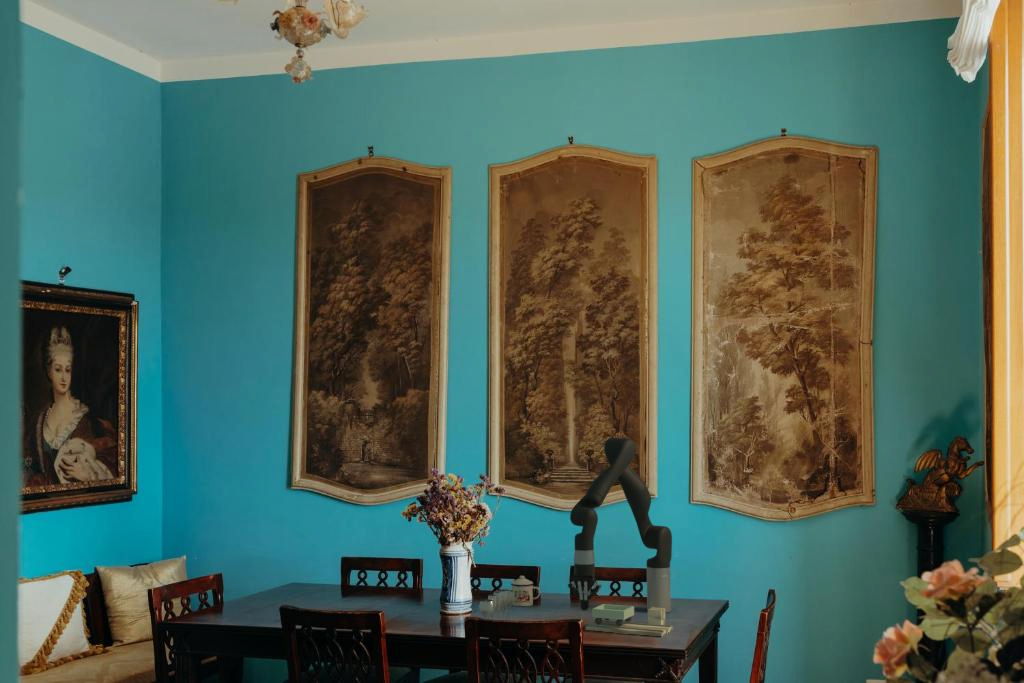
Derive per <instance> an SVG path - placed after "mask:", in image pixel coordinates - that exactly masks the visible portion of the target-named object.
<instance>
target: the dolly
mask: <svg viewBox="0 0 1024 683" xmlns="http://www.w3.org/2000/svg"><path fill="white" fill-rule="evenodd" d="M591 612H592V613H591V614H592V616H591V618H594V619H595V620H594V622H595V623H596V624H601V623H602V620H607V621H610V620H611V619H612V620H615V621H616V624H617V626H622V625H623V622H631V621H632V619H633V618H632V617H633V616H635V606H633V605H621V604H620V605H619V604H607V603H602V604H600V605H597V606H595V607H593V608H592V609H591Z"/></svg>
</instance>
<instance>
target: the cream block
mask: <svg viewBox="0 0 1024 683" xmlns="http://www.w3.org/2000/svg"><path fill="white" fill-rule="evenodd" d="M647 624H657V625H666V613H665V608H653V607H652V608H650V609H648V611H647Z"/></svg>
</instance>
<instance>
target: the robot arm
mask: <svg viewBox="0 0 1024 683" xmlns="http://www.w3.org/2000/svg"><path fill="white" fill-rule="evenodd" d="M603 449H604V450H603V451H604V455H605V457H606V460H607V461H608V463H609V465H610V466H608V467H607V468H606V469H605V470H604V471H602V472H601V473H599V475H598V476H596V478H595V479H594V480H592V483H591V484H590V486H589V487H588V489H587V491H586V493H585V494H584V496H583V497H582V498H580V500H578V502H577V503H576V504H575V505H574V506H573V508H572V509H571V510H570V514H569V520H570V522H571V524H573V526H577V527H582V528H581V531H580V532H579V533H577V534H575V536H574V554H573V576H574V577H573V579H572V581H571V582H570V583H568V584H567V587H568V588H569V590H570V591H571V592H572V594H573V596H574V597H575V598H576V599H579V601H580V609H581V610H582V611H588V609H589V608H590V600H591V599H593V598H595V596H596V595H597V594H598V592H599V591H600V590H601V588H602V586H603V585H601V584H599V583H598V582H597V580H596V579H597V578H595V577H596V575H595V574H596V573H595V572H596V570H595V569H596V568H595V567H596V566H595V564H596V563H595V562H596V561H595V550H594V549H595V548H594V546H595V545H594V540H595V539H594V538H595V535H596V530H597V526H598V522H599V521H598V520H599V517H598V513H597V511H596V510H595V509H597V508H600V507H601V506H602V505H603V503H604V501H605V499H606V498H607V495H608V494H609V492H610V490H611V488H612V487H613V486H614V484H615V483H616V481H618V482H619V485H620V486H621V489H622V490H623V493H624V496H625V498H626V501H627V503H628V506H629V507H630V509H631V512H632V515H633V517H634V520H635V523H636V526H637V529H638V533H639V536H640V539H641V542H642V543H643V546H644V547H645V548H647V549H649V550H650V549H651V550H656V554H655V555H654V556H653V557H650V558H647V560H646V611H647V612H648V609H650V608H652V607H653V608H665V614H666V613H671V611H672V606H671V602H672V598H671V562H672V553H673V552H672V550H673V535H672V531H671V529H670V528H669V527H668V526H666V525H665V526H664V525H654V524H653V523H652V521H651V518H650V516H649V513H650V508H651V505H652V495H651V493H650V491H649V488H648V485H647V484H646V482H645V481H644V479H642V477H641V476H640V475H639V474H638V473H637V472H636V471H635V470H633V468H632V467H631V466H630V464H631V463H632V461H633V460H634V458H635V456H636V453H637V446H636V443H635V441H634V440H633V439H630V438H625V437H610V438H609V437H608V438H607V439H606V440H605V443H604V448H603ZM592 588H593V590H592V591H591V589H592Z"/></svg>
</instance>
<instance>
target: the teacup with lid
mask: <svg viewBox="0 0 1024 683" xmlns="http://www.w3.org/2000/svg"><path fill="white" fill-rule="evenodd" d="M510 585H511V590H513V591H514V594H515V599H514V602H513V604H512V606H514V607H519V606H526V607H530V606H531V607H532V606H533V605H534V603H533V602H534V600H537V599H538V598H539V597H540V595H541V589H540V588H539V587H538V586H534V582H533V581H531V580H529V579H527V578H526V577H525V575H519V578H517V579H515V580H513V581H511V583H510ZM533 589H536V590H537V591H538V594H537V596H533V595H534V593H533V592H534V590H533Z"/></svg>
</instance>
